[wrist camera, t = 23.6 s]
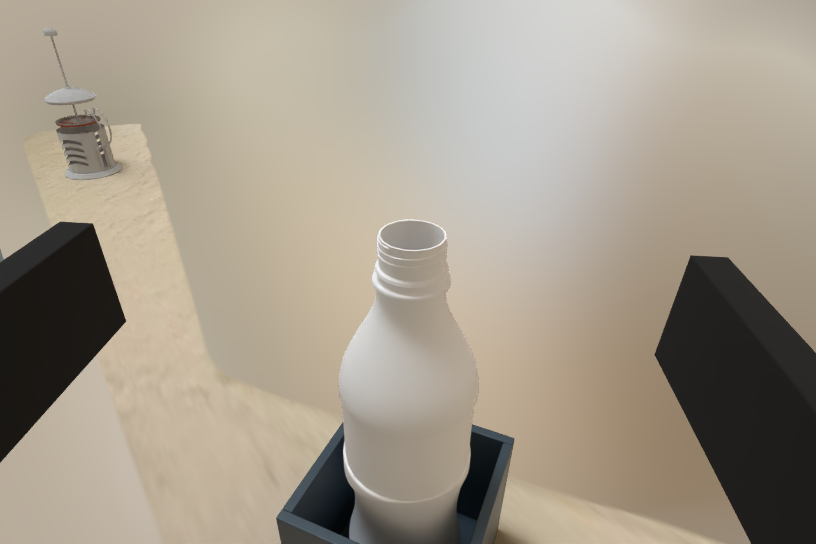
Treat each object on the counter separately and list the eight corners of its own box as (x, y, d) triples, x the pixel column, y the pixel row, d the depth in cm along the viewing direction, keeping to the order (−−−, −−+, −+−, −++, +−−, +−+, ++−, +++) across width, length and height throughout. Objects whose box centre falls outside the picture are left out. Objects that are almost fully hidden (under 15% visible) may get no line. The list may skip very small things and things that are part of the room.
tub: (450, 689, 29) (463, 602, 24) (293, 608, 33) (275, 517, 28) (497, 527, 38) (514, 438, 33) (368, 477, 41) (365, 388, 36)
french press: (97, 158, 104) (55, 23, 91) (140, 167, 100) (103, 27, 87) (52, 174, 96) (-1, 28, 83) (96, 184, 92) (48, 33, 79)
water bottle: (396, 494, 39) (399, 188, 26) (476, 552, 35) (527, 230, 22) (329, 568, 34) (291, 239, 21) (413, 645, 30) (430, 302, 17)
